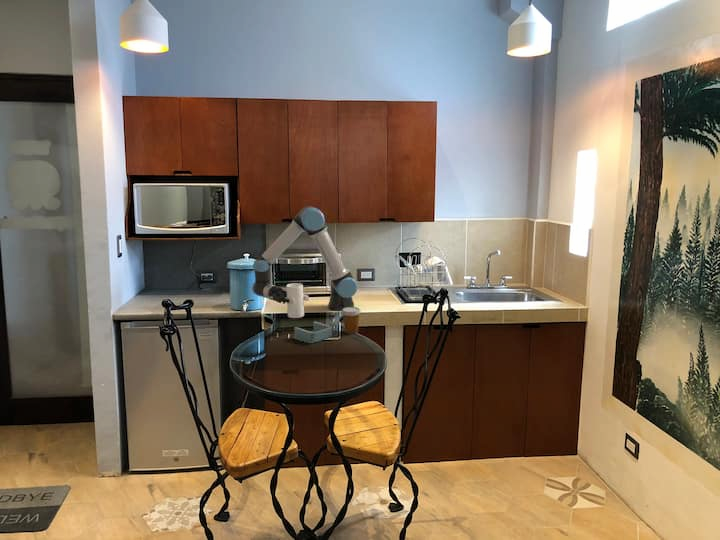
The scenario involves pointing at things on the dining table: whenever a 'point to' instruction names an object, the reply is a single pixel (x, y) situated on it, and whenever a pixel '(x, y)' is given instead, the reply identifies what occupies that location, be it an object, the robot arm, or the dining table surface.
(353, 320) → the disposable coffee cup
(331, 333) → the end holder
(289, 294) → the cup
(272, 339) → the dining table surface
